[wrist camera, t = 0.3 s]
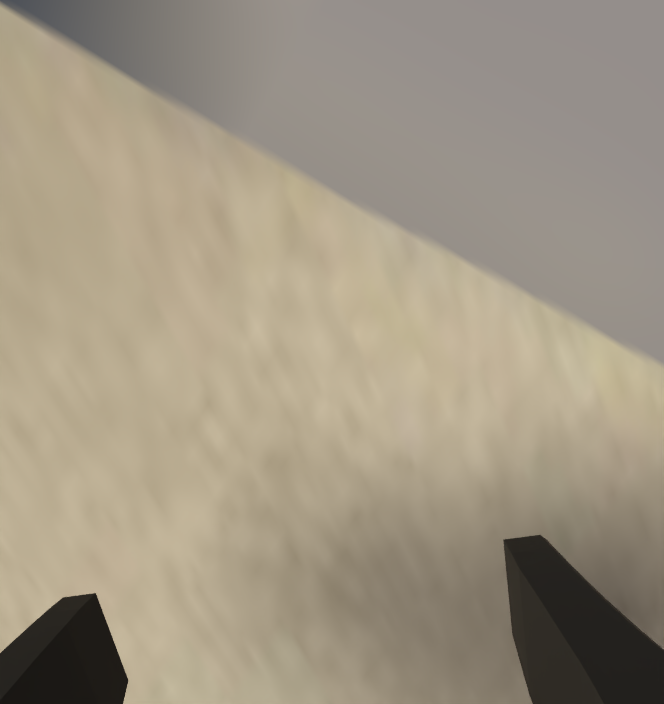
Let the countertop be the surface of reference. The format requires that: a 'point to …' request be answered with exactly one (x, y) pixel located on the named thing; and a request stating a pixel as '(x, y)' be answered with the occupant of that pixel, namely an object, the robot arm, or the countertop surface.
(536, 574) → the robot arm
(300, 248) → the countertop surface
